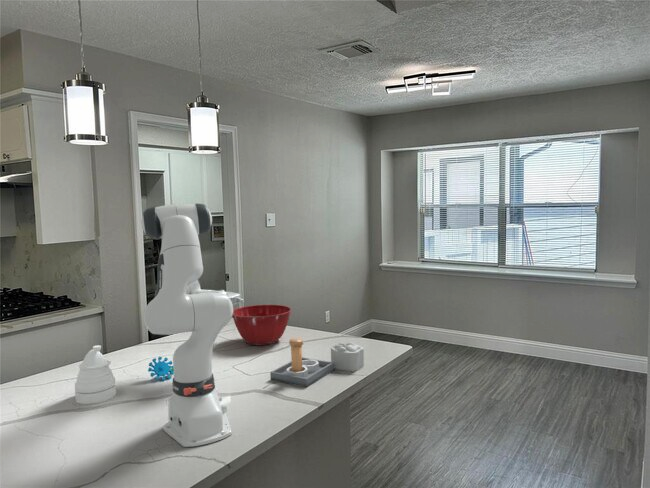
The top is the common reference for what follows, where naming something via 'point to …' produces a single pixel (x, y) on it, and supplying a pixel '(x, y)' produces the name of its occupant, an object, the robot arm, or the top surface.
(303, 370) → the tray
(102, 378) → the honey pot
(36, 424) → the top surface
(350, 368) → the lumpy-topped squat cylinder
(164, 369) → the blue knobbed disc
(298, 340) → the round-headed peg
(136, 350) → the top surface
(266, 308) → the mixing bowl
